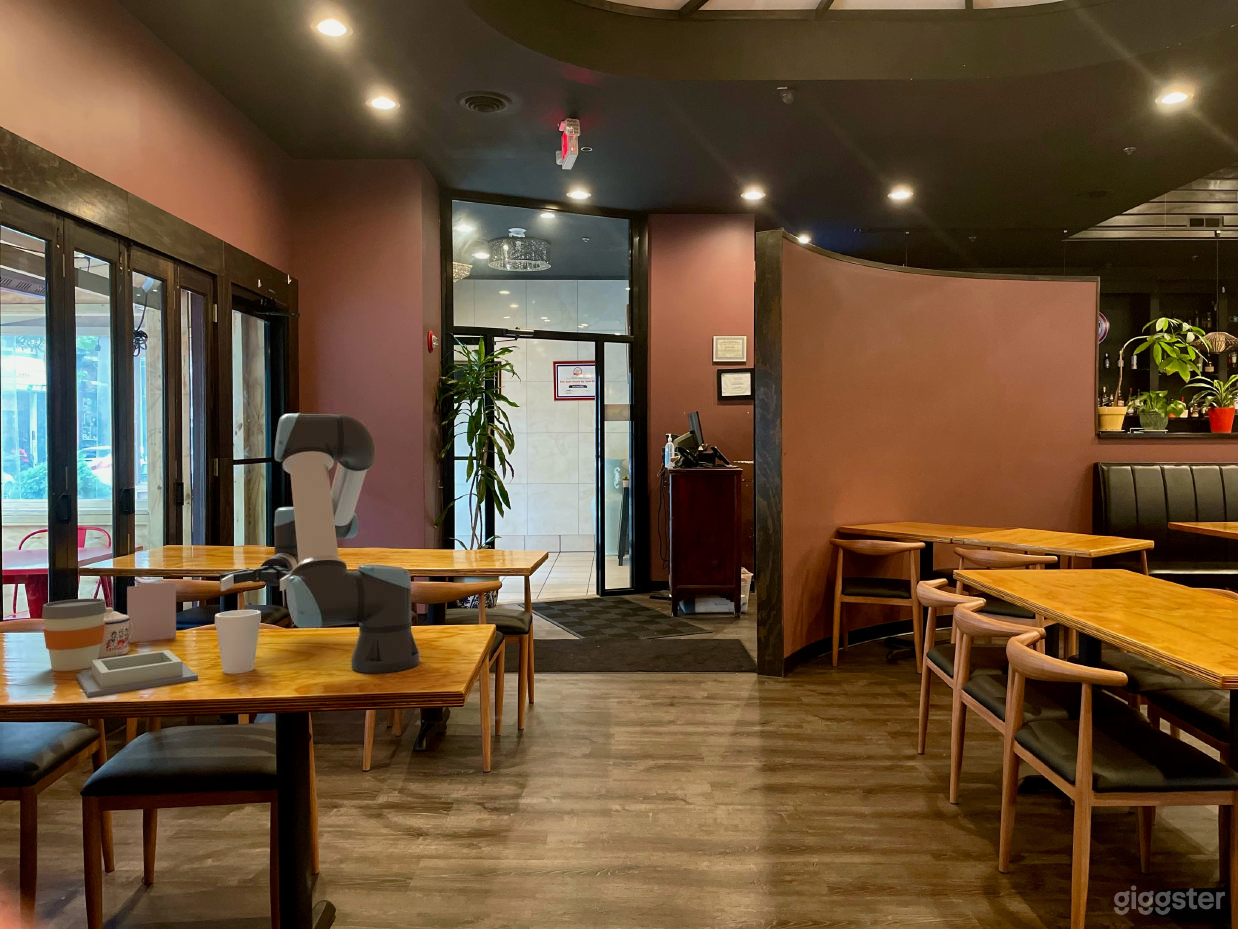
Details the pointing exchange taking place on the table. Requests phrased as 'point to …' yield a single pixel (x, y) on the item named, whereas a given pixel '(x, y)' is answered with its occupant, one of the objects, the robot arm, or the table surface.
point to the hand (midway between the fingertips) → (252, 585)
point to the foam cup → (238, 639)
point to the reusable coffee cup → (73, 632)
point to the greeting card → (152, 611)
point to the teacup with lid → (115, 634)
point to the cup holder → (134, 673)
